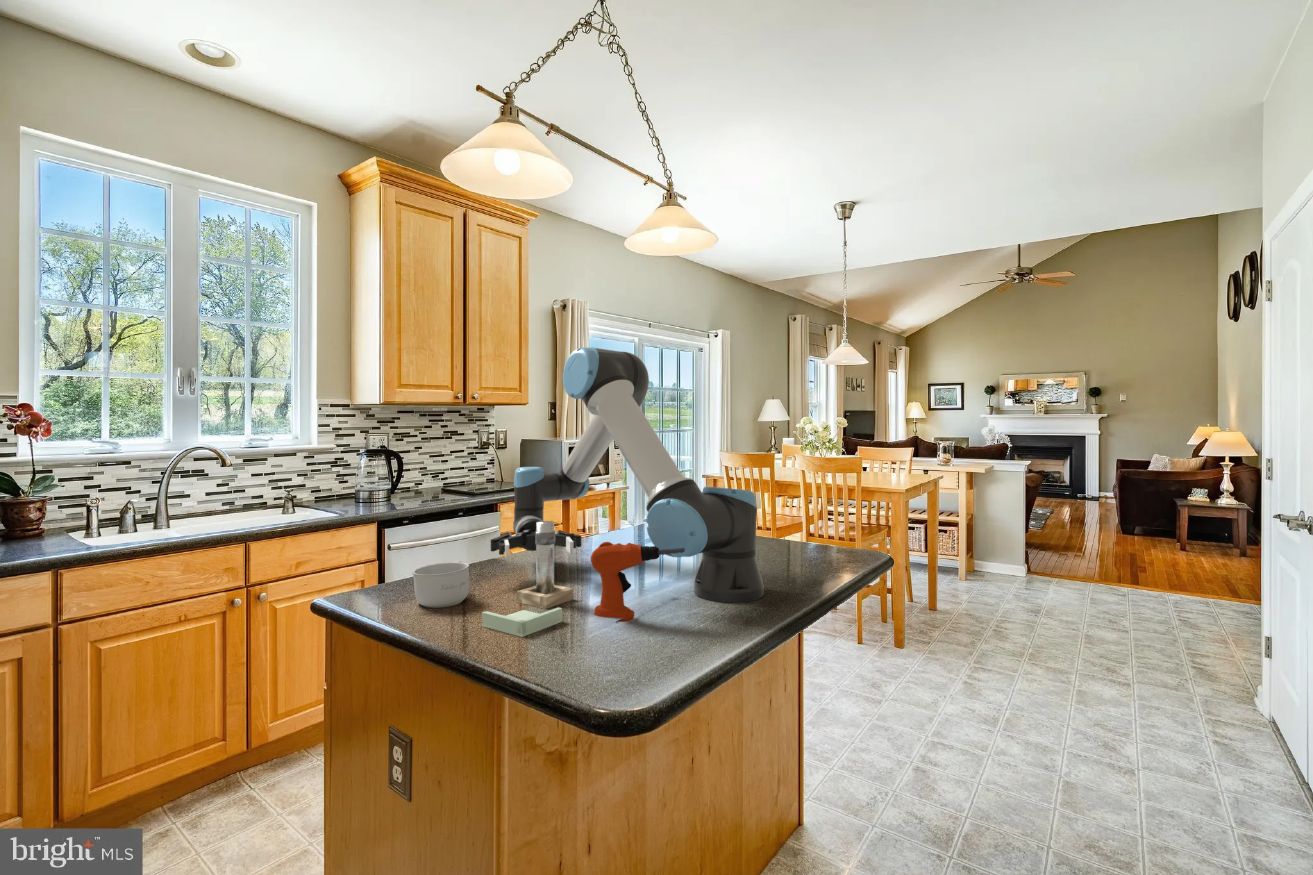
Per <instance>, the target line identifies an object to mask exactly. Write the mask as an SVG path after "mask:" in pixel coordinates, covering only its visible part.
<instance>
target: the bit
mask: <svg viewBox="0 0 1313 875" xmlns="http://www.w3.org/2000/svg"><path fill="white" fill-rule="evenodd" d="M555 534H556V530H555V521H553V520H551V521H550V520H543V521H540V522H536V531H535V544H536V551H535V553H536V554H535V558H536V560H535V562H536V563H535V578H536V579H535V586H536V593H541V594H549V593H552V592H554V585H555V545H554V543H555Z"/></svg>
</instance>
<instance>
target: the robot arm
mask: <svg viewBox="0 0 1313 875" xmlns="http://www.w3.org/2000/svg"><path fill="white" fill-rule="evenodd" d="M648 371H649V370H648V369H647V366H646V365H645V363H644V362H643V361H642V359H641V358H640V357H639V356H637V355H636V354H633V353H632V352H628V351H619V350H613V349H612V350H611V349H606V348H605V349H604V348H597V347H594V346H590V347H583V346H582V347H579V348H576V349H575V350H573V351H572V352H571V353H570V354H569V355H568V356H567V359H566V361H565V364H564V366H563V372H562V382H563V388H564V391H565V392H566V394H567V395H568V396H569V397H570V398H572V399H574V400H582V402H583V403H584V405H585V407H586V408H587V410H588V412H589V413H590V414H592V415H593V417H592V418H591V420H590V421H589V424H588V425H587V426H586V428H585V430H584V431H583V433H582V435H581V436H580V437H579V439H578V441H577V443H576V444H575V446H574V447H573V449H572V451H571V453H570V454H569V455H568V457H567V459H566V461H565V462H564V464H563V465H562V467H561V468H560V470H559V471H558V472H547V473H546V472H544V468H543V467H540V466H522V467H521V466H520V467H517V468H516V469H515V471H514V478H513V488H514V495H513V496H514V508H513V510H514V511H513V523H512V524H513V525H512V526H513V527H512V528H513V532H514V534H515V535H512V533H510V532H508V531H506V532H504V533H503V534H501V535H499V536H497V537H494V538H492V539H490V552H496V551H498V555H500V556H502V555H504V556H505V558H506V559H507V558H508V559H510V550H512V549H517V548H518V549H519V548H522V549H524V550H526V551H528V552H529V551H530V552H536V544H535V531H536V522H540V521H544V509H545V508H544V503H545V502H551V501H552V502H554V501H564V500H565V501H566V500H575V499H578V498H583V497H584V496H586V495H587V493H588V492H589V489H590V485H591V484H590V479H589V477H590V476H591V474H592V472H593V471H594V469H595V467H596V466H597V465H598V463H599V462H600V460H601V459H602V457H603V456H604V454H605V453H606V452H607V449H608V448H609V447H610V445H611V444H612V442H613V441H614V443H615V444H616V447H618V449H619V451H620V453H621V454H622V456H623V458H624V459H625V461H626V463H627V465H628V466H629V468H630V469H631V471H632V473H633V475H634V476H635V478H636V479H637V481H638V483H639V485H640V486H641V488H642V490H643V492H644V494H645V496H646V497H647V502H646V506H645V509H646V511H647V515H646V522H645V523H647V526H646V531H647V532H646V533H647V535H648V537H649V540H650V541H651V544H652V545H653V546H656V547H658V548H659V550H660V549H672V548H685V552H683V553H680V552H679V553H673V554H666V555H665V556H668V557H671V558H682V557H683V558H688V557H694V556H697V555H698V554H701V555H702V556H701V560H700V562H699V566H698V569H697V572H696V576H695V578H694V583H693V592H694V594H695V595H696V596H698V597H700V598H701V599H702V598H703V599H705V600H709V601H716V602H722V603H723V602H725V603H726V602H727V603H741V602H743V603H744V602H751V601H754V600H758V599H760V598H762V597H763V596H764V595H763V594H764V593H765V592H764V588H765V586H764V582H763V577H762V574H761V572H760V569H759V568H760V567H759V565H758V562H757V557H756V556H757V555H756V553H757V552H756V551H757V548H756V547H757V543H756V542H757V511H758V507H757V500H756V497H757V496H756V494H755V493H754V492H753V491H752V490H748V489H738V488H726V487H717V486H716V487H715V486H704V487H703V488H702V491H701V489H700V487H699V486H698V484H697V483H696V481H695V480H694V479H693V478H690V477H685V476H683V474H682V473H681V471H680V470H679V468H678V466H677V465H676V463H675V461H674V460H673V459H672V457H671V454H669V452H668V450H667V449H666V448H665V446H664V444H663V443H662V441H661V439H660V438H659V436H658V435H657V433H656V432H655V430H654V428H653V426H651V424H650V422H649V420H648V419H647V417H646V415H645V414H644V412H643V411H642V409H641V405H642V404H643V402H644V400H645V398H646V396H647V394H648V389H649V386H650V385H649V383H650V378H649V372H648ZM555 546H557V547H561V548H562V547H563V548H565V550H566V551H567V553H568V554H569V555H574V554H575V553H574V550H575V549H577V548H581V547H582V535H580V534H575V533H574V532H573V533H571V532H566V531H563V530H561V529H559V530H557V531H555V543H554V547H555Z"/></svg>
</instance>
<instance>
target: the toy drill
mask: <svg viewBox="0 0 1313 875" xmlns="http://www.w3.org/2000/svg"><path fill="white" fill-rule="evenodd" d="M679 552H680V553H683V552H685V548H672V549H660V550H659V548H658V547H656V546H654V545H653V546H651V545H650V546H648V545H646V546H645V545H644V546H643V545H639V544H635V543H631V542H628V543H626V544H622V543H621V542H619V543H618V542H617V543H612V542H611V541H603V542H601V543H600V544H599V546H598V547H597V548H595V549H594V550H593V551H592V553H591V555H590V563H591V566H592V568H594V570H595V571H596V572H597V573H598V574H599V575H600V581H601V598H600V602H599V603H600V604H598V605H596V606H595V607H594V612H593V615H594V616H596V617H598V618H599V617H600V618H609V619H610V618H611V619H618V620H616V621H615V623H625V622H626V623H627V622H631V621H633V620H634V618H635V611H634V610H633V609H631V608H629V606H626V605H625V600H624V599H625V598H624V593H626V592H627V591H628V590H629V589H630V588H631V587H632V584H631V583H630V582H629V581H628V579H627V577H626V574H625V573H624V572H622V571H625V570H628V569H630V568H633V567H637V566H638V565H640V564H644V562H647V561H648V562H649V561H651V560H657V559H659V558H660V556H661V555H662V556H667V555H666V554H673V553H679Z"/></svg>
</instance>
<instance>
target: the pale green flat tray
mask: <svg viewBox="0 0 1313 875" xmlns="http://www.w3.org/2000/svg"><path fill="white" fill-rule="evenodd" d="M481 616H482V617H481V625H482V626H481V627H484V628H488V629H492V630H495V631H499V632H503V633H505V634H510V635H513V636H516V637H520V638H523V637H525V636H528V635H530V634H533V633H536V632H539V631H542V630H544V629H547V628H549V627H552V626H555V625H557V624H560V623H563V608H561V607H555V608H551V609H550V610H547V611H544V612H541V613H538V612H534V611H530V610H526V609H522V610H519V611H516V612H514V613H511V614H507V615H504V614H499V613H495V612H491V611H488V610H486V611H482V613H481Z"/></svg>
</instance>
